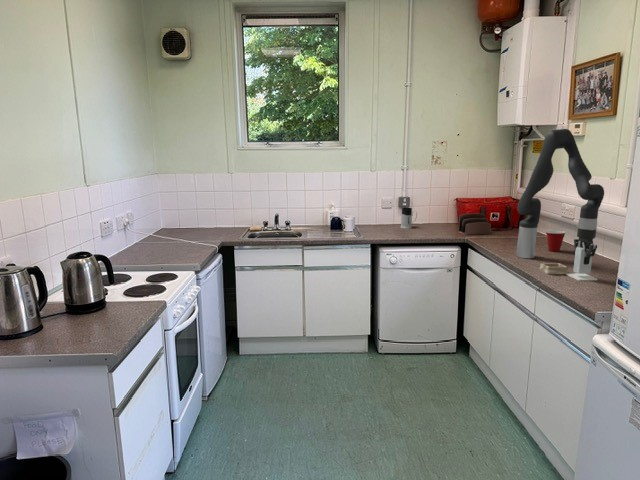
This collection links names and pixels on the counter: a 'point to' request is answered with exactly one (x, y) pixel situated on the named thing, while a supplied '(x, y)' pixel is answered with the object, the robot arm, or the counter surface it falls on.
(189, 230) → the counter surface
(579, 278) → the pad
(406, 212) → the tall grey mug
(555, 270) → the collar
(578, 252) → the skincare box
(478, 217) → the letter holder
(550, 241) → the plastic cup
